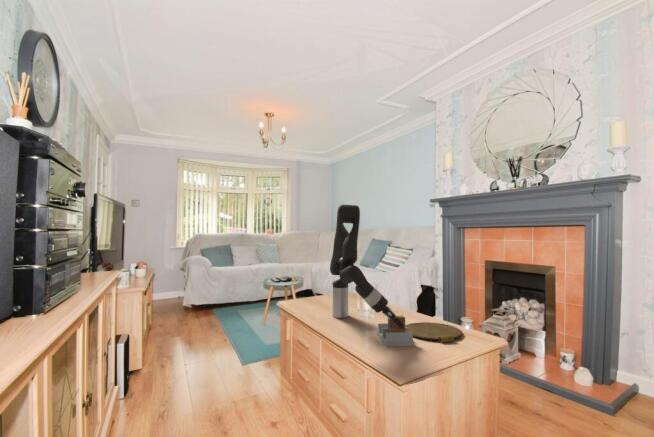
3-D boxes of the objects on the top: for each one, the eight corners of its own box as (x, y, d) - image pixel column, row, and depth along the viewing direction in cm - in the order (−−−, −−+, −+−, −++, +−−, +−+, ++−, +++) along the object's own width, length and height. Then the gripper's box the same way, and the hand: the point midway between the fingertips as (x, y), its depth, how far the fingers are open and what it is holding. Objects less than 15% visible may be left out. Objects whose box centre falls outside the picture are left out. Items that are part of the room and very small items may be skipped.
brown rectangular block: (387, 337, 145) (387, 315, 145) (402, 337, 145) (402, 315, 145) (390, 340, 141) (390, 318, 141) (405, 339, 142) (405, 317, 142)
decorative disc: (439, 318, 175) (478, 333, 146) (439, 324, 175) (478, 340, 146) (392, 322, 167) (424, 339, 138) (392, 328, 167) (424, 347, 138)
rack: (376, 334, 154) (376, 322, 154) (402, 333, 155) (402, 322, 155) (386, 346, 138) (386, 334, 138) (414, 345, 139) (414, 333, 139)
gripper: (385, 297, 136) (411, 323, 137) (376, 290, 150) (400, 313, 151) (373, 309, 135) (399, 335, 136) (366, 301, 149) (389, 325, 150)
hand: (399, 324), depth 143 cm, fingers open, 8 cm apart
